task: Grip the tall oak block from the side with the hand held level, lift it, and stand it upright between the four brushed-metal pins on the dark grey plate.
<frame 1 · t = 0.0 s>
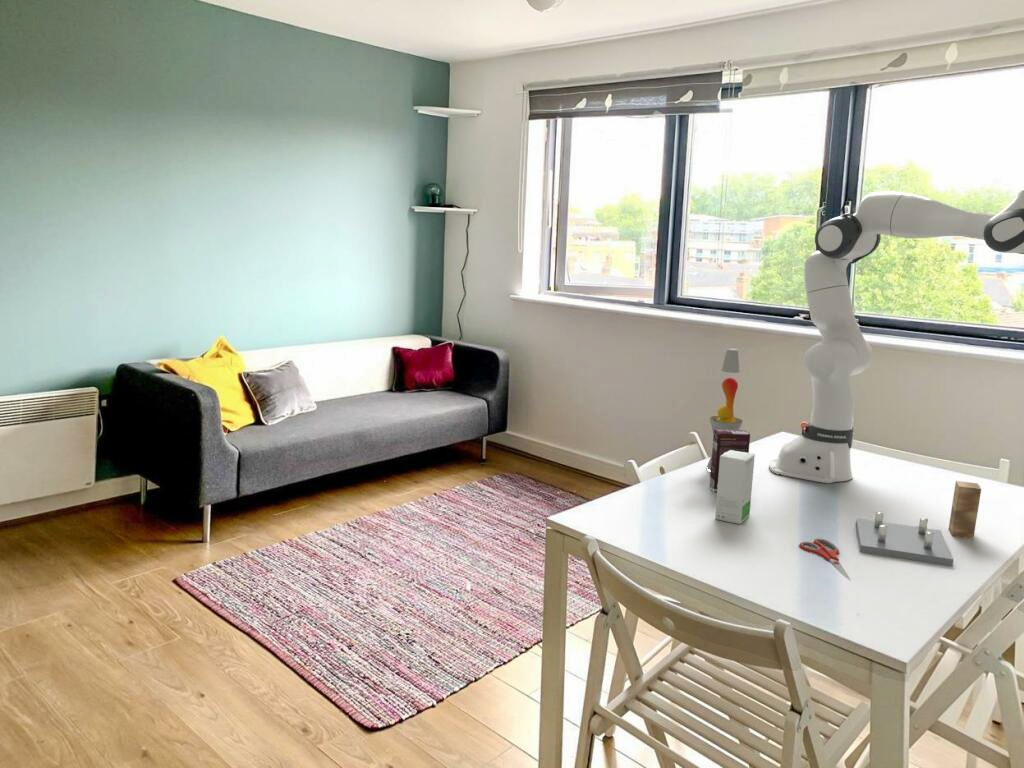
skincare box: (731, 517, 197), on the table
scissors: (836, 564, 173), on the table
supplement box: (726, 490, 217), on the table
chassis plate: (901, 543, 184), on the table
lava lamp: (721, 471, 234), on the table
oak block: (960, 534, 191), on the table
standoff pins: (902, 530, 183), on the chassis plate, point 3 cm above the table
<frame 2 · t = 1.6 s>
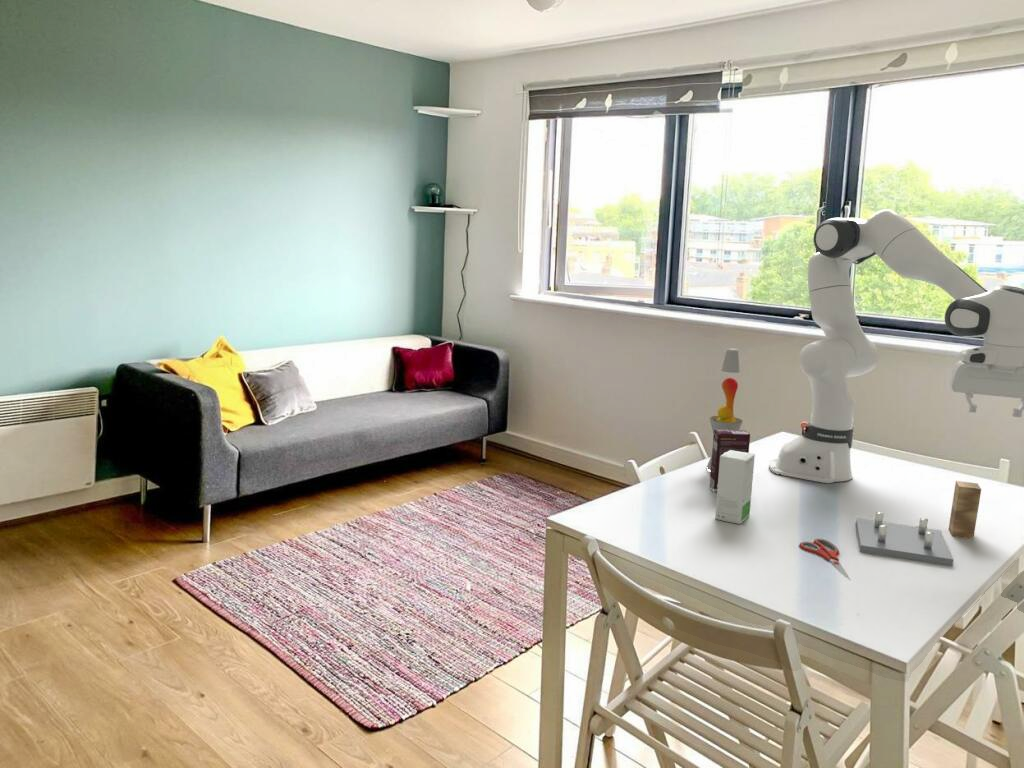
hand: (994, 414, 194), 27 cm above the table, tool pointing down, fingers open, 8 cm apart
nothing on the table moved.
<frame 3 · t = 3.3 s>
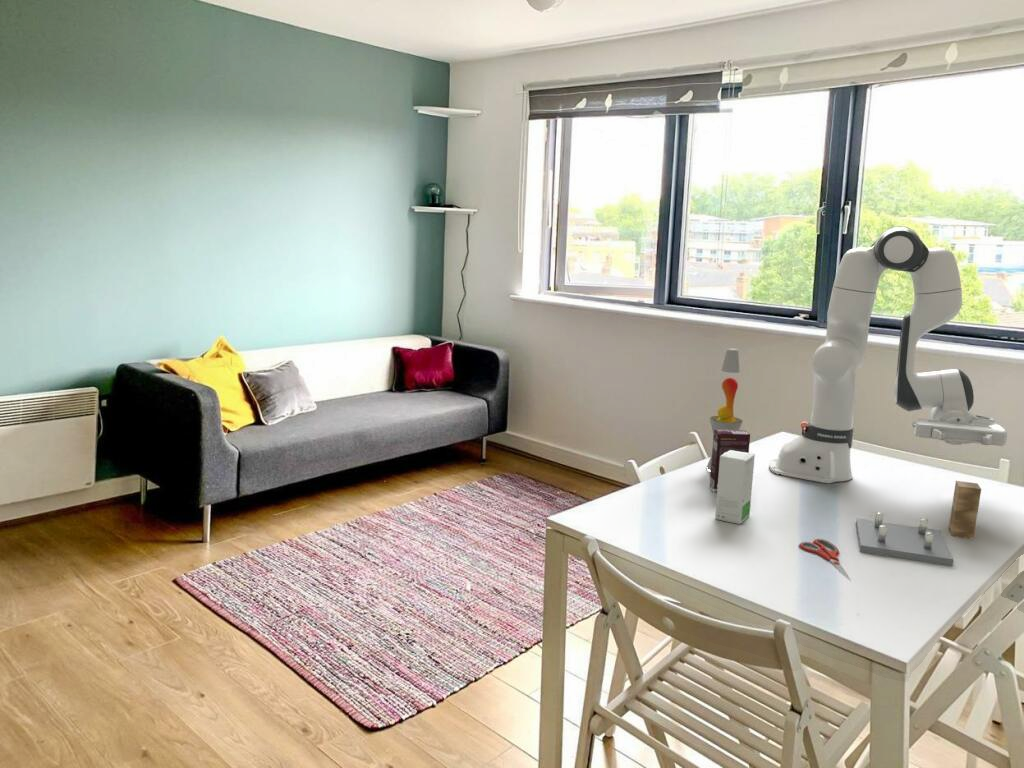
hand: (964, 439, 199), 20 cm above the table, tool horizontal, fingers open, 8 cm apart
nothing on the table moved.
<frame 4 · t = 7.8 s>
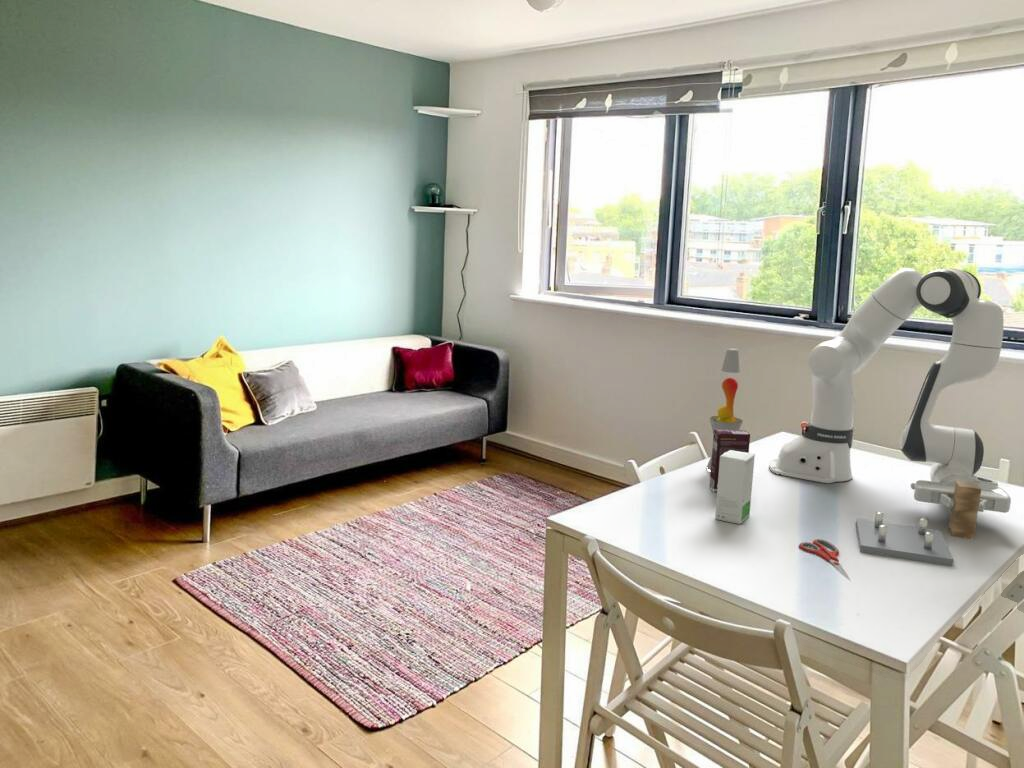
hand: (966, 506, 189), 7 cm above the table, tool horizontal, fingers closed on oak block, 4 cm apart
oak block: (960, 533, 191), on the table, touching gripper
everything else where it was.
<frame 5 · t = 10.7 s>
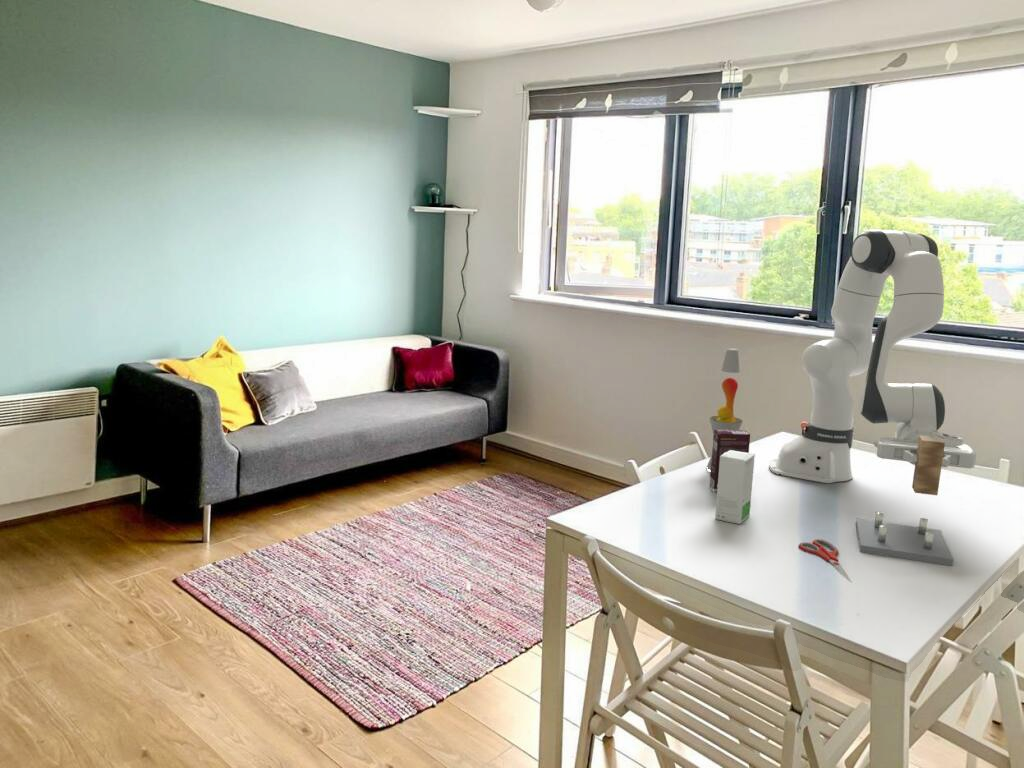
hand: (929, 461, 181), 19 cm above the table, tool horizontal, fingers closed on oak block, 4 cm apart
oak block: (924, 491, 183), point 12 cm above the table, touching gripper
everything else where it was.
when the fingers open (10 cm above the table, at t = 13.7 s): oak block drops 1 cm, resting on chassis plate.
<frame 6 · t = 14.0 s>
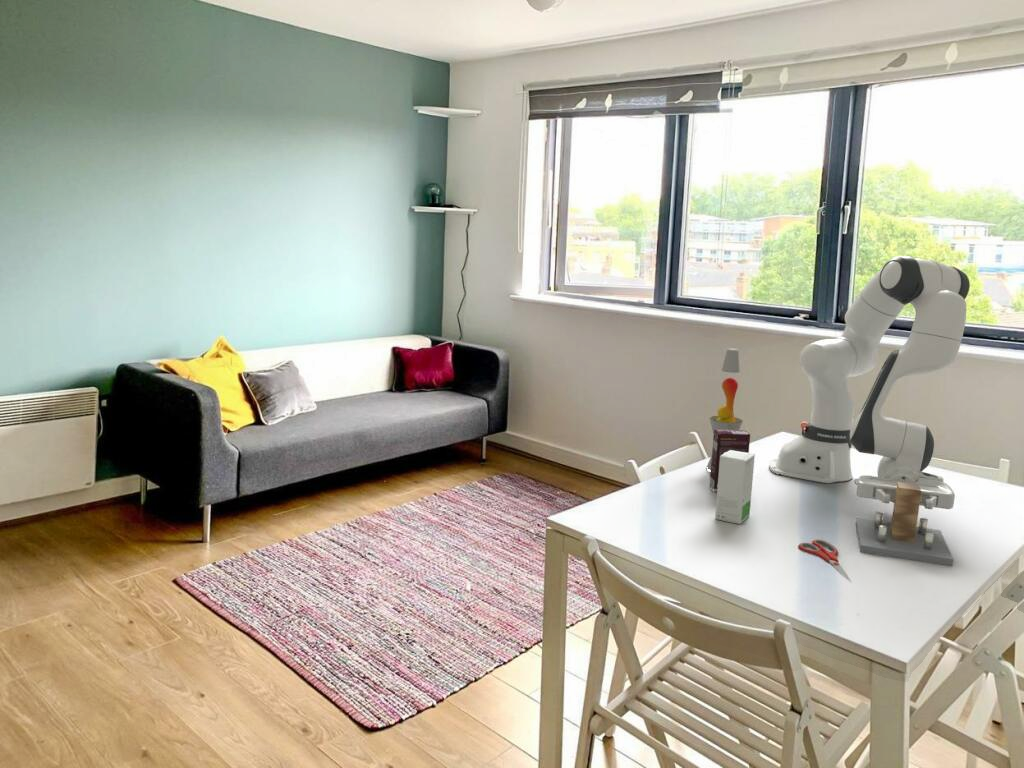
hand: (907, 502, 181), 10 cm above the table, tool horizontal, fingers open, 7 cm apart
oak block: (901, 537, 184), point 1 cm above the table, touching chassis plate
everything else where it was.
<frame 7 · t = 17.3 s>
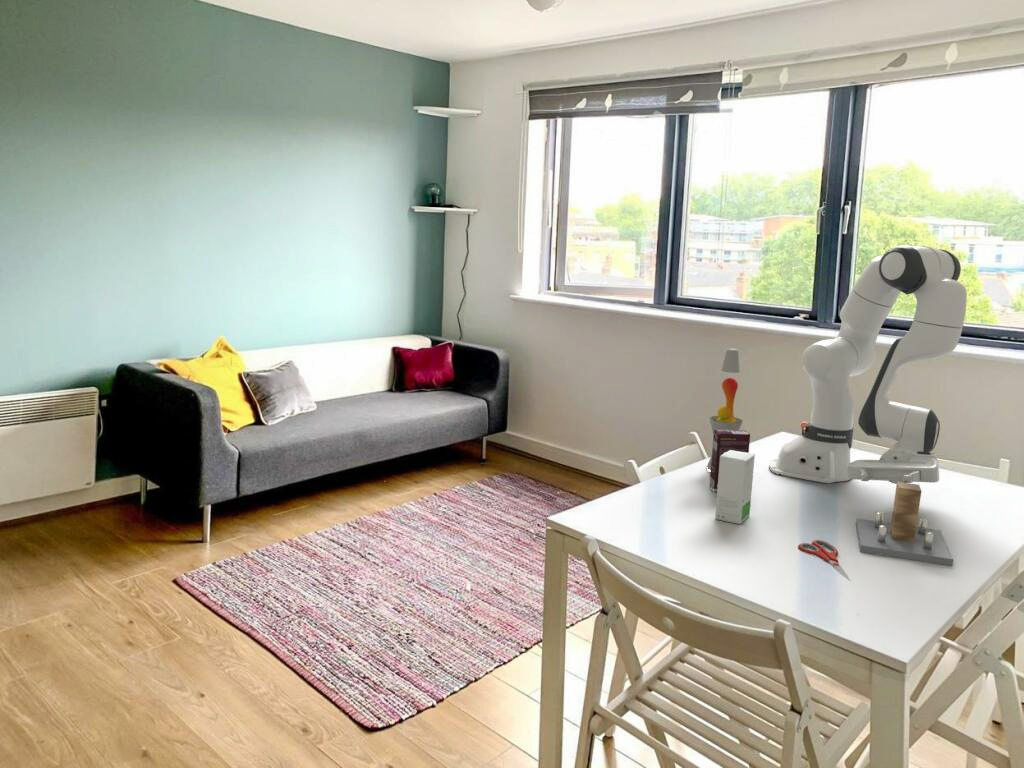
hand: (885, 478, 192), 12 cm above the table, tool horizontal, fingers open, 8 cm apart
nothing on the table moved.
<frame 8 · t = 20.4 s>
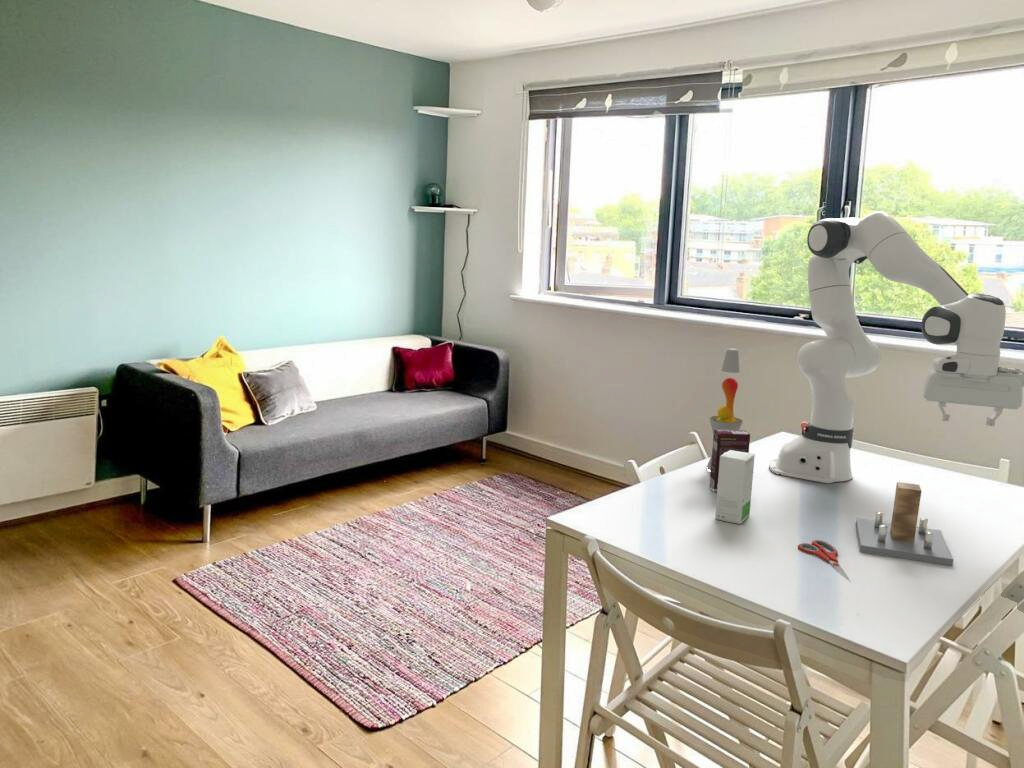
hand: (967, 423, 192), 25 cm above the table, tool pointing down, fingers open, 8 cm apart
nothing on the table moved.
at the end: oak block 0.0 cm off-centre on the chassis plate, point 1.5 cm above the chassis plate's base; oak block tilted 0°; the gripper is holding nothing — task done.
